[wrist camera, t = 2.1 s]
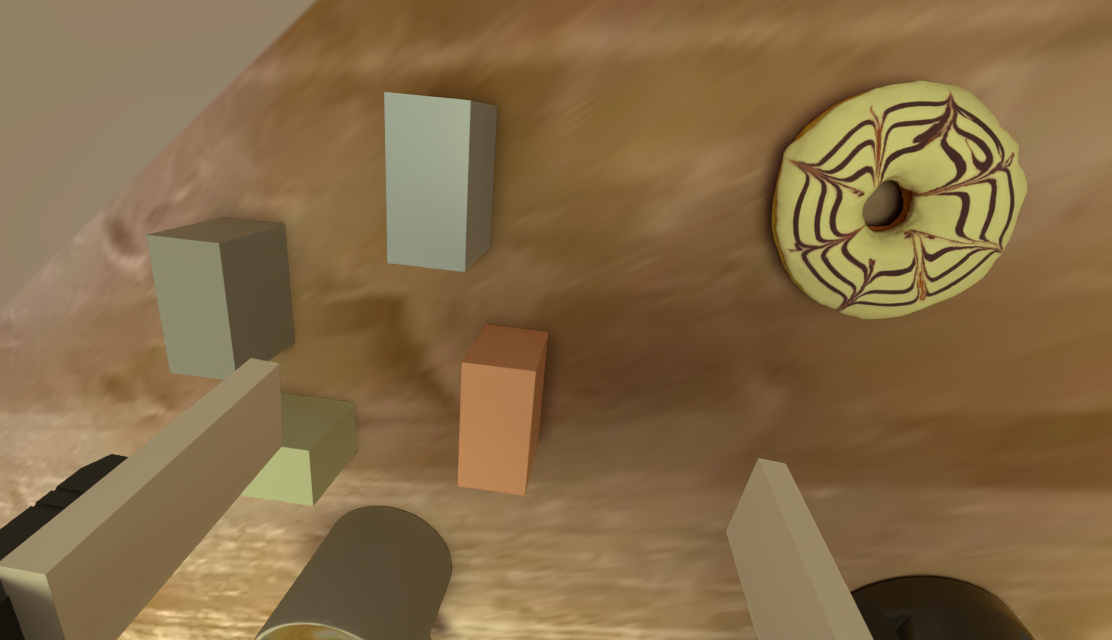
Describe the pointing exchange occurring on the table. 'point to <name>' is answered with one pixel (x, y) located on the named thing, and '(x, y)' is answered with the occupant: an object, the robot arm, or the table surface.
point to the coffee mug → (367, 582)
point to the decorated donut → (928, 192)
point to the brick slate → (222, 294)
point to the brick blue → (438, 180)
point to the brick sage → (307, 450)
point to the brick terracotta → (501, 408)
